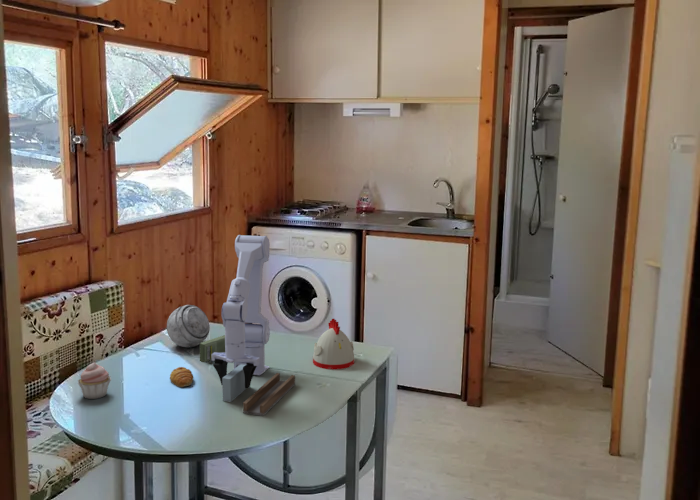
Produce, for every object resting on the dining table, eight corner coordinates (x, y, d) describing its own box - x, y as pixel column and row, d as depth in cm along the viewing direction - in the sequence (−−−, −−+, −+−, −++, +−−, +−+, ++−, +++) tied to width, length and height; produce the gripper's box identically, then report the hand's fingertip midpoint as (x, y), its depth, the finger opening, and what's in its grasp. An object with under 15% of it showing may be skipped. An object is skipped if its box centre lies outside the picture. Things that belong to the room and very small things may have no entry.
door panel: (222, 401, 195) (222, 378, 194) (240, 386, 207) (240, 364, 206) (230, 402, 195) (230, 379, 194) (248, 387, 206) (248, 365, 205)
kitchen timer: (321, 371, 220) (321, 327, 217) (307, 358, 232) (307, 315, 229) (360, 366, 225) (361, 322, 222) (344, 353, 238) (345, 312, 235)
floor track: (243, 413, 187) (243, 402, 187) (276, 382, 210) (276, 373, 209) (263, 416, 186) (263, 405, 185) (295, 384, 208) (295, 375, 208)
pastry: (197, 386, 206) (197, 374, 206) (175, 390, 203) (174, 378, 203) (189, 376, 215) (189, 364, 214) (168, 379, 212) (167, 368, 211)
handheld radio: (198, 361, 228) (250, 342, 248) (204, 363, 226) (257, 344, 246) (198, 342, 227) (251, 325, 246) (204, 344, 225) (257, 327, 245)
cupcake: (109, 400, 194) (107, 367, 192) (75, 402, 193) (72, 368, 191) (115, 388, 203) (113, 356, 202) (82, 389, 202) (80, 357, 200)
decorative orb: (191, 355, 233) (190, 313, 230) (158, 349, 239) (156, 307, 236) (217, 343, 246) (216, 303, 243) (185, 337, 252) (184, 298, 249)
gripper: (205, 343, 196) (207, 387, 199) (252, 348, 192) (252, 393, 195) (217, 335, 203) (218, 379, 205) (262, 340, 199) (262, 384, 201)
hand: (235, 385), depth 200 cm, fingers open, 7 cm apart
